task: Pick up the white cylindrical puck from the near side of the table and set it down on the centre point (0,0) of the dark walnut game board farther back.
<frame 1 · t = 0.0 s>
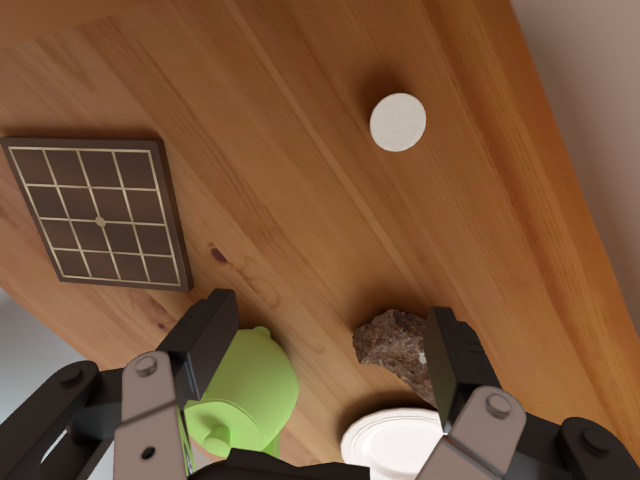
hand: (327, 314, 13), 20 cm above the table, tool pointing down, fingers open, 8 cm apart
white cylindrical puck: (394, 121, 28), on the table
plate: (409, 442, 47), on the table
teapot: (255, 355, 43), on the table
rock: (405, 335, 38), on the table
board: (109, 217, 36), on the table
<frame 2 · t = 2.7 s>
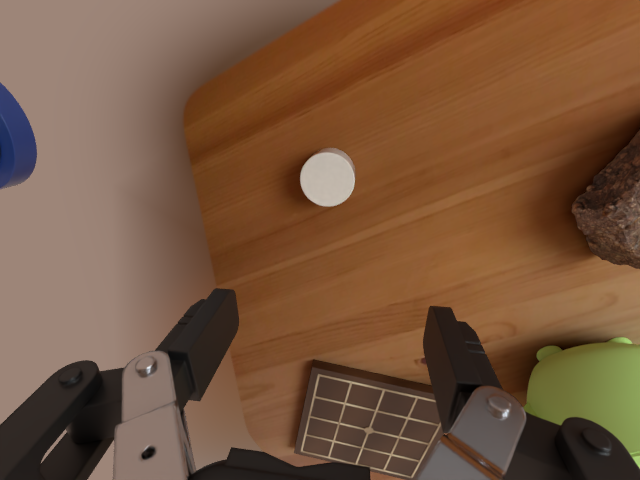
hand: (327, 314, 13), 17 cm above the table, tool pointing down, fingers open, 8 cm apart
white cylindrical puck: (329, 174, 28), on the table
teapot: (582, 370, 33), on the table
rock: (639, 183, 25), on the table
board: (368, 421, 41), on the table
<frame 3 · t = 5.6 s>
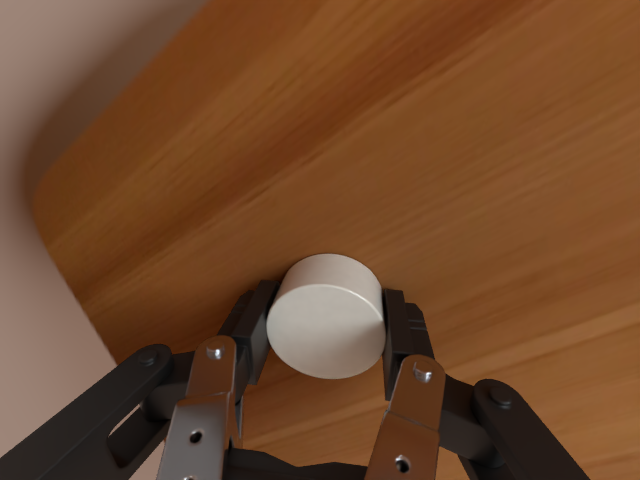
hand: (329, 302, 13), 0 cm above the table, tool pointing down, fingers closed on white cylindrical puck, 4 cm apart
white cylindrical puck: (330, 298, 14), on the table, touching gripper
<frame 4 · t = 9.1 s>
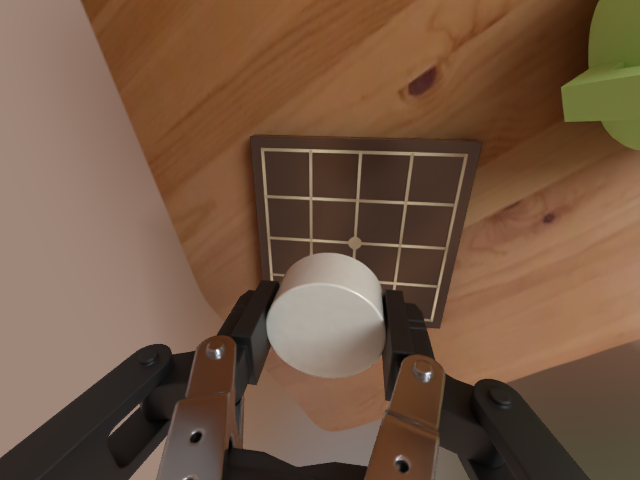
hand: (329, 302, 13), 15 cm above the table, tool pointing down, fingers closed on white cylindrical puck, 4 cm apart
white cylindrical puck: (330, 297, 14), point 15 cm above the table, touching gripper
board: (355, 237, 29), on the table
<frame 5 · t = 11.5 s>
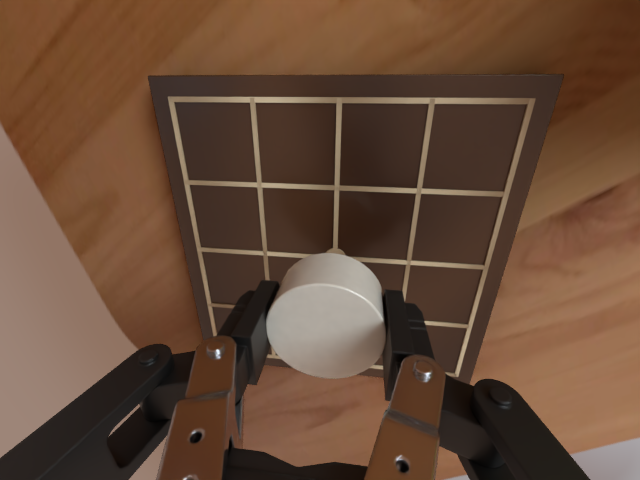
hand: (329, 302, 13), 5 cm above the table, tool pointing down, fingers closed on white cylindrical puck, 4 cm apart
white cylindrical puck: (330, 297, 14), point 5 cm above the table, touching gripper
board: (336, 247, 18), on the table
when the fingers open (2 cm above the table, at t = 12.9 s): white cylindrical puck stays where it is, resting on board.
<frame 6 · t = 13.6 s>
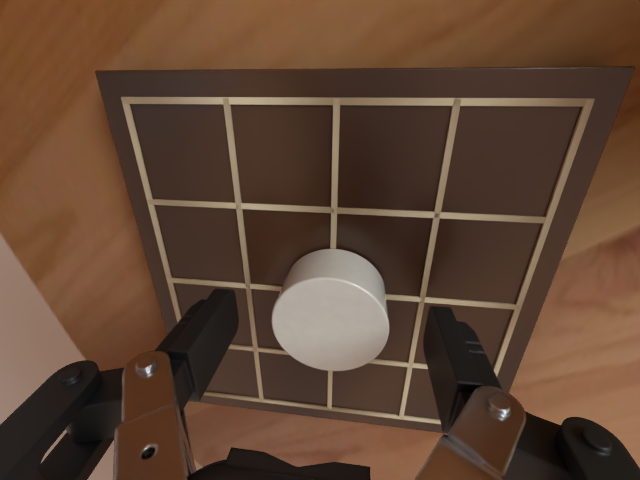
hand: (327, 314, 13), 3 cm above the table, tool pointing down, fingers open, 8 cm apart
white cylindrical puck: (334, 292, 14), point 1 cm above the table, touching board
board: (334, 277, 15), on the table
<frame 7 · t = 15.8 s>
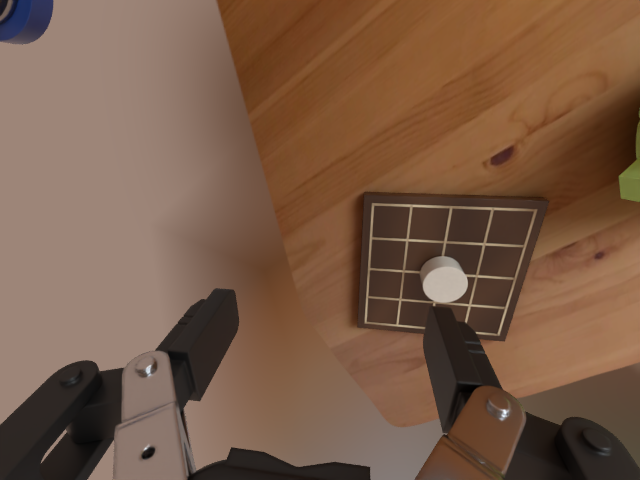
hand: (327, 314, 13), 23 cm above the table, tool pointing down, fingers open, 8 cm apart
white cylindrical puck: (440, 273, 35), point 1 cm above the table, touching board
board: (437, 268, 36), on the table
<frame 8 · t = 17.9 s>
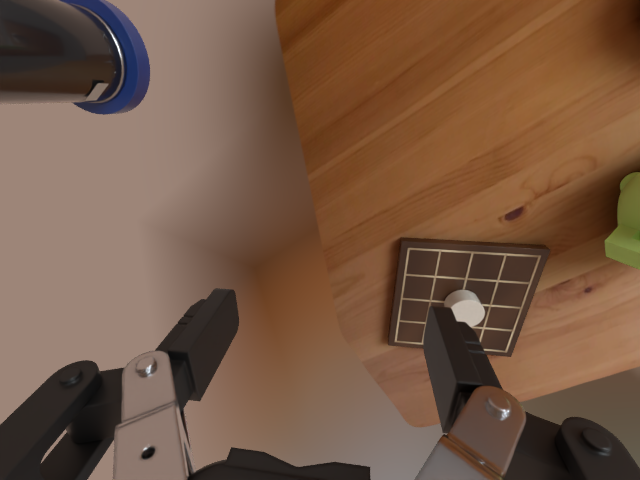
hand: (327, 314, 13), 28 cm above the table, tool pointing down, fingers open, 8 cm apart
white cylindrical puck: (461, 303, 42), point 1 cm above the table, touching board
board: (457, 297, 44), on the table
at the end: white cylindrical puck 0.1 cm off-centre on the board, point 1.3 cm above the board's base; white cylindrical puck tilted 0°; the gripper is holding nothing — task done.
